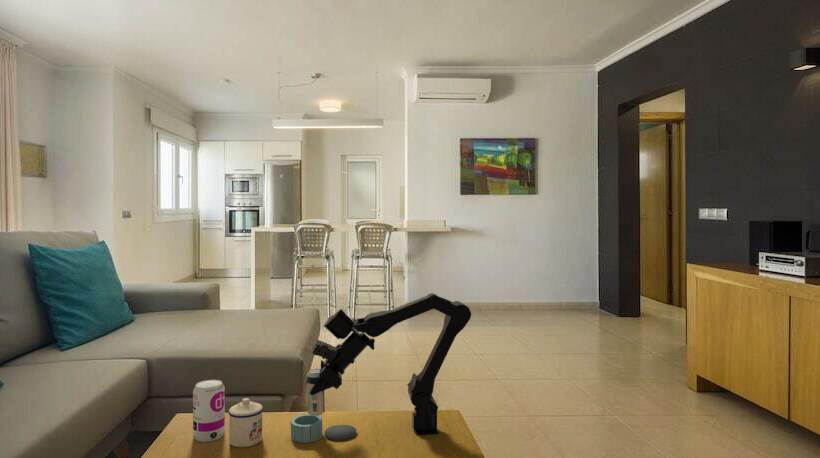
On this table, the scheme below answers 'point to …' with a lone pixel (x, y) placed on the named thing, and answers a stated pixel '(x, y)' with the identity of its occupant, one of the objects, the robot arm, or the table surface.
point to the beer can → (315, 400)
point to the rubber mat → (340, 432)
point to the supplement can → (208, 410)
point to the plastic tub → (306, 428)
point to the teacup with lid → (245, 423)
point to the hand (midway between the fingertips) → (311, 390)
